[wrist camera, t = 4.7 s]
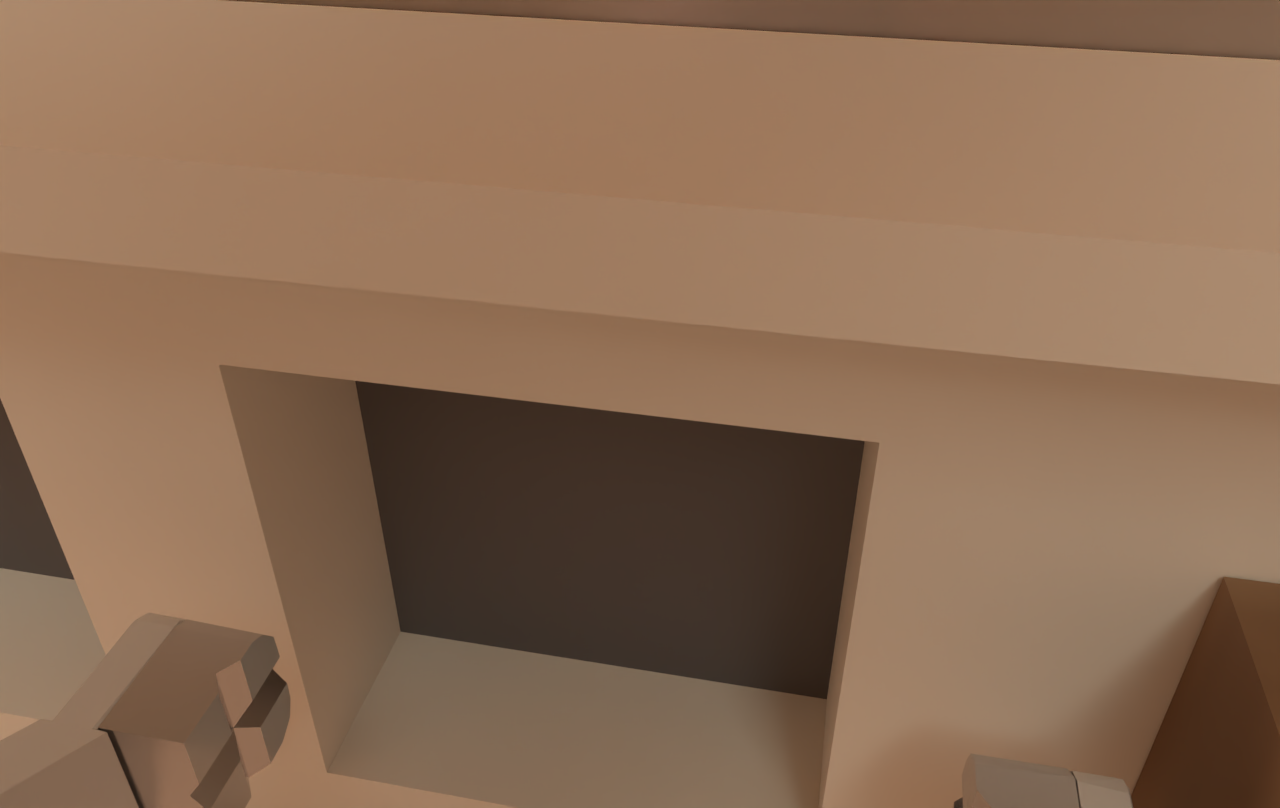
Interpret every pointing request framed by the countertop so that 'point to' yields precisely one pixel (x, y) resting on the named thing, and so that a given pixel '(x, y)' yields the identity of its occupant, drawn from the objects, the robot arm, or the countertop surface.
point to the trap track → (633, 392)
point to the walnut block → (1223, 711)
